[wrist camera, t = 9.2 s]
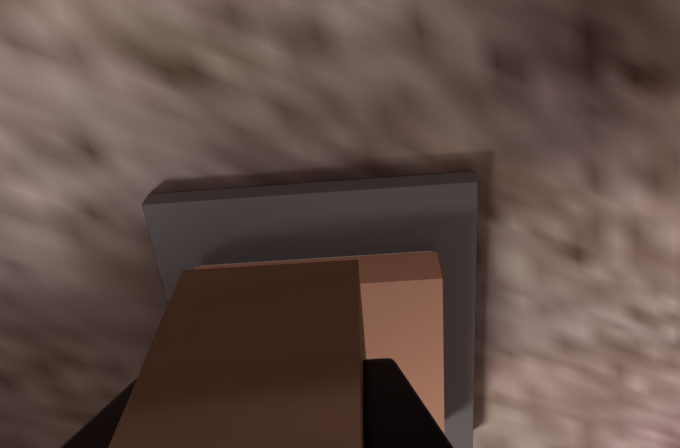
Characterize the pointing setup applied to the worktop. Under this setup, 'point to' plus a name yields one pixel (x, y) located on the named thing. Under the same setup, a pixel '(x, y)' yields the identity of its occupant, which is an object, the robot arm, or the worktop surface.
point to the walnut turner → (254, 362)
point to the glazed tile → (399, 316)
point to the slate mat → (340, 245)
